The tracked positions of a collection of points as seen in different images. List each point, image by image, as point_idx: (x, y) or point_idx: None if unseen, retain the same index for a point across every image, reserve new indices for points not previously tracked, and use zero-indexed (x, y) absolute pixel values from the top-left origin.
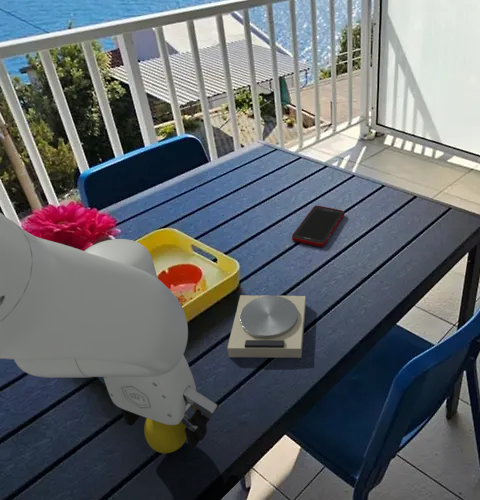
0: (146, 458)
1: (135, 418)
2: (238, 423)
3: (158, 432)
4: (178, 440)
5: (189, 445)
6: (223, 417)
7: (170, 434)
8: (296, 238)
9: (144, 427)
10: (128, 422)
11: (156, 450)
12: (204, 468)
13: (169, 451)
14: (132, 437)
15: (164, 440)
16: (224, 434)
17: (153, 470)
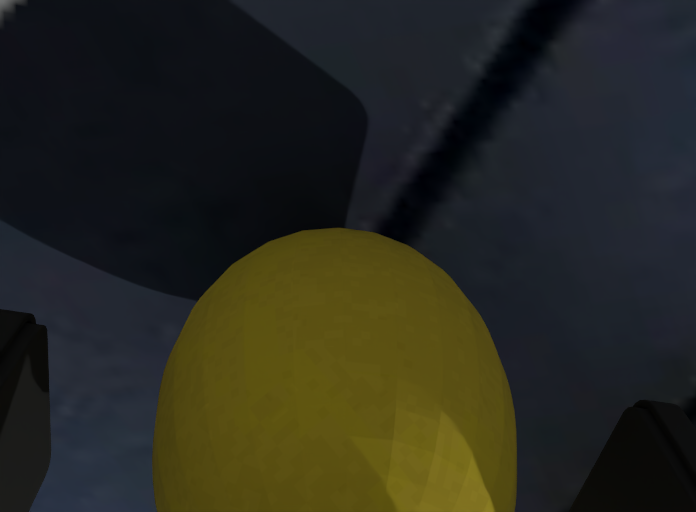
0: (466, 180)
1: (622, 460)
2: None
3: (309, 428)
4: (175, 349)
5: (14, 331)
6: (122, 464)
7: (201, 413)
8: None
9: (504, 430)
10: (674, 431)
11: (362, 239)
12: (41, 175)
13: (259, 247)
14: (607, 291)
15: (255, 344)
16: (56, 385)
17: (383, 107)
